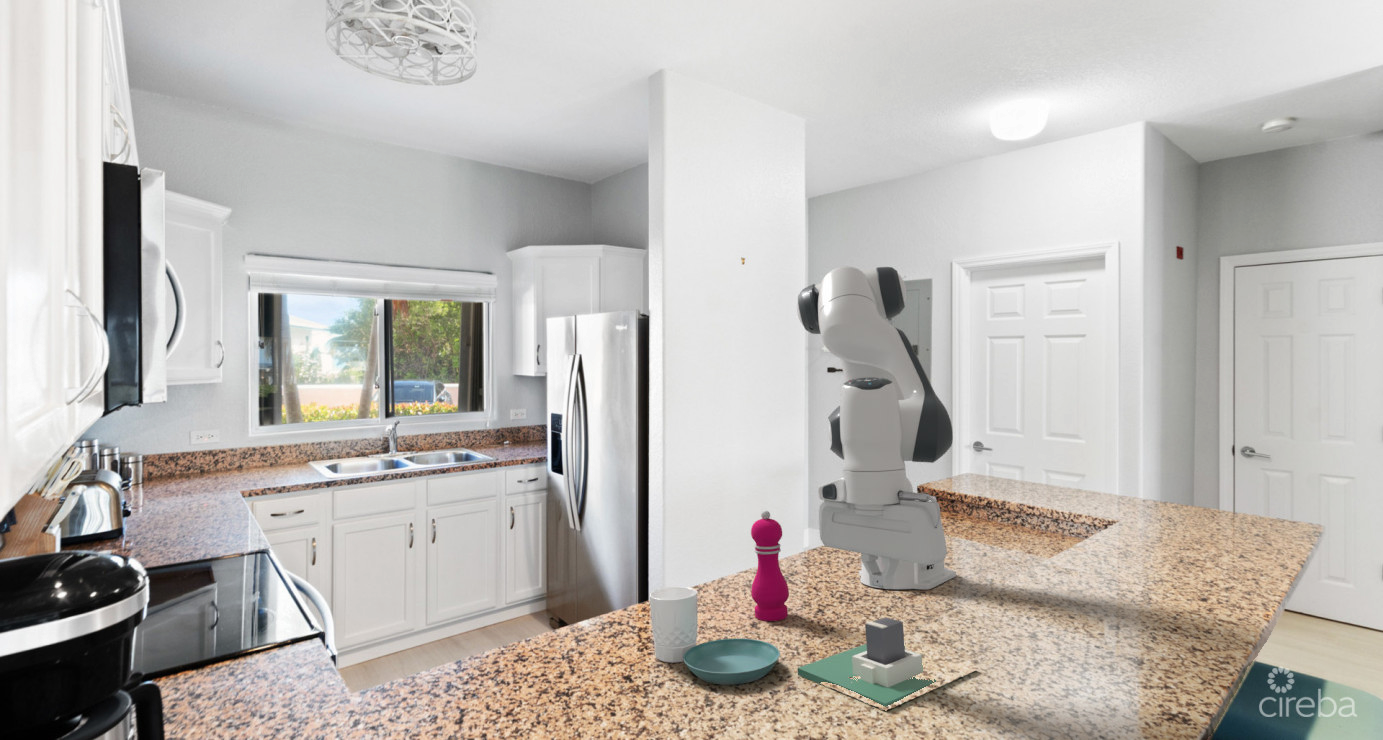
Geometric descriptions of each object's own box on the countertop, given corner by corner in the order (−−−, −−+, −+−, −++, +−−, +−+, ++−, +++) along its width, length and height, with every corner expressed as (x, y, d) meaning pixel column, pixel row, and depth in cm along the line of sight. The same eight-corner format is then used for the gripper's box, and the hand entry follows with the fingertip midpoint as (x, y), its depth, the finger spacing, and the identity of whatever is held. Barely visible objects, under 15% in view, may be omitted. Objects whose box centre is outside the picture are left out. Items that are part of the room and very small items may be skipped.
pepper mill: (789, 622, 121) (782, 512, 122) (750, 622, 122) (744, 513, 124) (791, 610, 128) (785, 507, 129) (754, 610, 129) (748, 508, 131)
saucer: (742, 647, 109) (742, 631, 110) (801, 674, 97) (800, 655, 97) (666, 669, 102) (665, 651, 102) (719, 701, 89) (718, 681, 89)
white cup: (683, 667, 101) (680, 601, 102) (642, 660, 105) (639, 596, 106) (709, 651, 108) (706, 589, 109) (669, 644, 112) (667, 584, 113)
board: (886, 643, 108) (885, 621, 108) (976, 671, 94) (974, 646, 95) (797, 674, 96) (796, 650, 96) (885, 711, 83) (883, 683, 83)
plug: (889, 666, 95) (885, 616, 96) (906, 672, 93) (902, 620, 93) (868, 674, 93) (864, 622, 93) (885, 680, 90) (881, 627, 91)
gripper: (952, 491, 88) (960, 596, 87) (838, 483, 105) (843, 571, 104) (923, 496, 84) (931, 606, 83) (809, 487, 101) (815, 578, 100)
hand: (881, 586), depth 93 cm, fingers closed
